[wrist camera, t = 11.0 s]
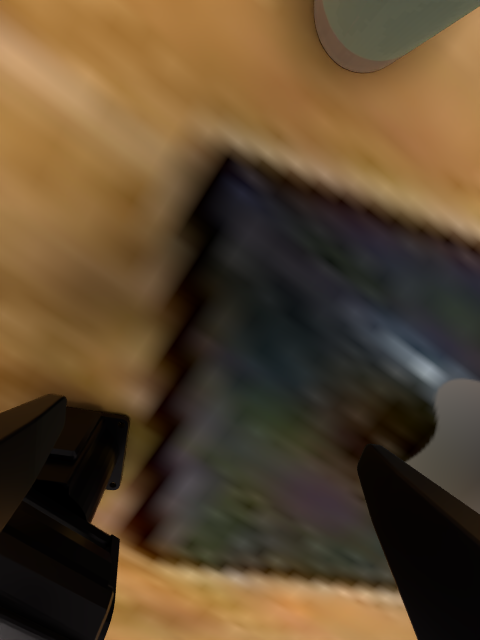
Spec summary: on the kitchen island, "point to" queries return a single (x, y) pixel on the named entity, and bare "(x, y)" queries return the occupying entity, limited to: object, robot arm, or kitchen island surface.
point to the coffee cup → (382, 28)
